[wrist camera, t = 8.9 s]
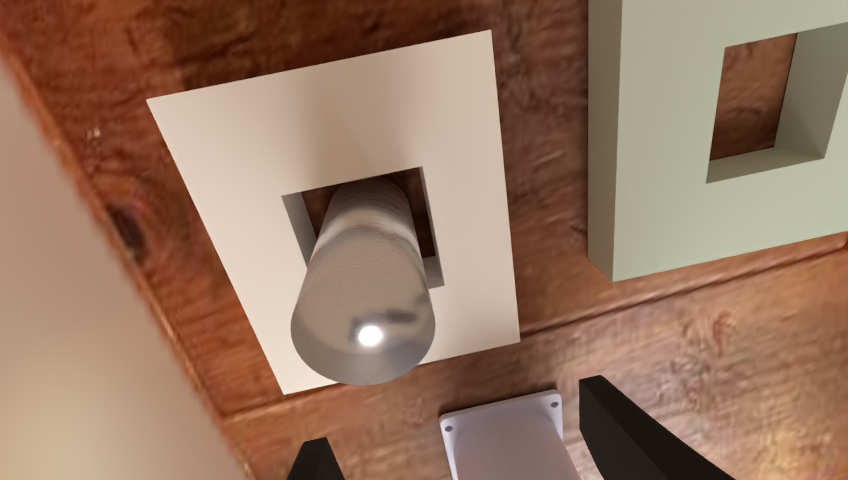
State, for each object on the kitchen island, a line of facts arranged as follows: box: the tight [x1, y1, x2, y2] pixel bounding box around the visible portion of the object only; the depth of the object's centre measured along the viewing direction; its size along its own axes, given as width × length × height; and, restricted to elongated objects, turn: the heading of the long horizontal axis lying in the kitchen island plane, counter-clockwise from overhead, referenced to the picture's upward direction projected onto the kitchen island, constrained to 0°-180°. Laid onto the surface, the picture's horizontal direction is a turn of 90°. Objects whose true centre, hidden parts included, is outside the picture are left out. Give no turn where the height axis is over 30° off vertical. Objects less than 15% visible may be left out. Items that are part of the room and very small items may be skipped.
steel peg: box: [290, 176, 436, 385], centre depth 15 cm, size 4×4×9 cm
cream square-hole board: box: [146, 30, 520, 395], centre depth 18 cm, size 14×12×3 cm
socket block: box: [588, 0, 848, 282], centre depth 18 cm, size 14×14×2 cm
